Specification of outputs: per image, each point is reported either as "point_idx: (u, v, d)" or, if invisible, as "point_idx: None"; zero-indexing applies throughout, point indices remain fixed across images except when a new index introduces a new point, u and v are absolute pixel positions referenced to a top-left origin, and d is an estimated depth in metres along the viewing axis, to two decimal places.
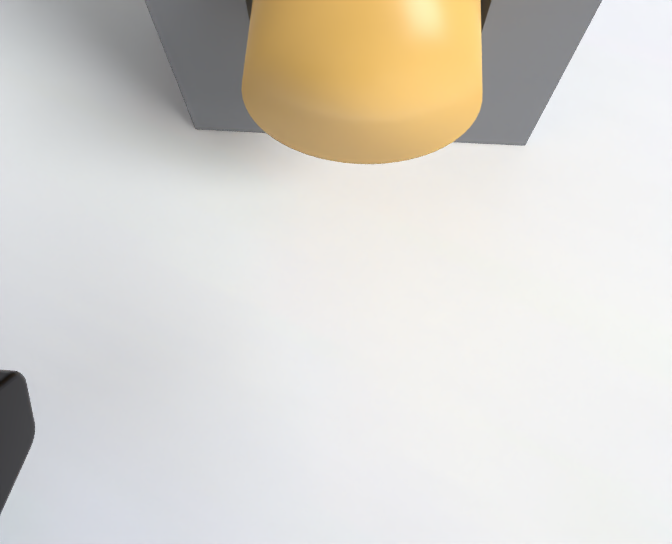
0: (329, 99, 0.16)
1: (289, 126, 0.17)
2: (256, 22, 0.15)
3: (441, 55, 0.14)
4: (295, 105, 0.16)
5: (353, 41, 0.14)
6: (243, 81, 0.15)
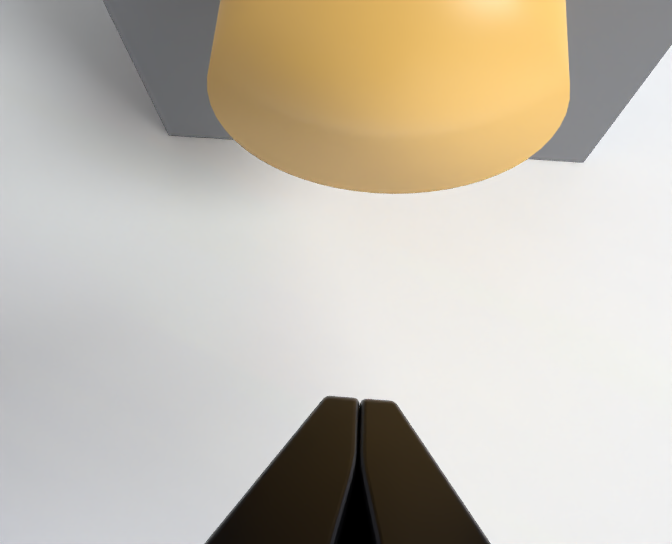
0: (337, 107, 0.11)
1: (279, 143, 0.12)
2: None
3: (515, 42, 0.09)
4: (287, 114, 0.11)
5: (377, 17, 0.09)
6: (209, 78, 0.10)
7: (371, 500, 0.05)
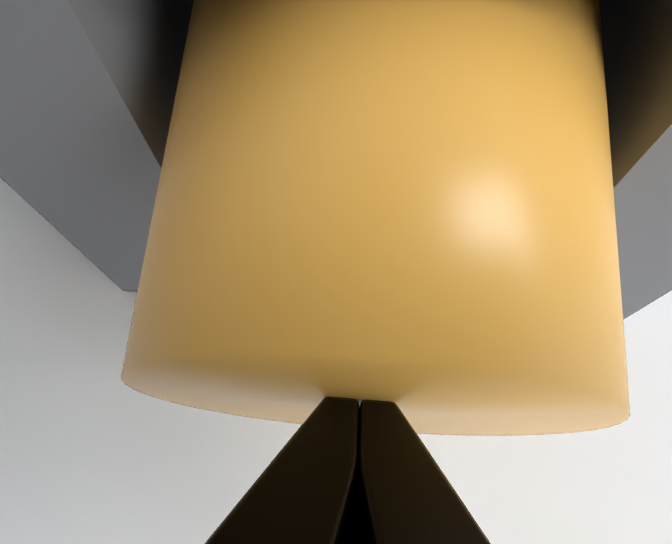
0: (304, 401, 0.08)
1: (233, 407, 0.09)
2: (146, 273, 0.07)
3: (558, 396, 0.06)
4: (238, 399, 0.08)
5: (352, 372, 0.06)
6: (124, 380, 0.07)
7: (371, 500, 0.05)
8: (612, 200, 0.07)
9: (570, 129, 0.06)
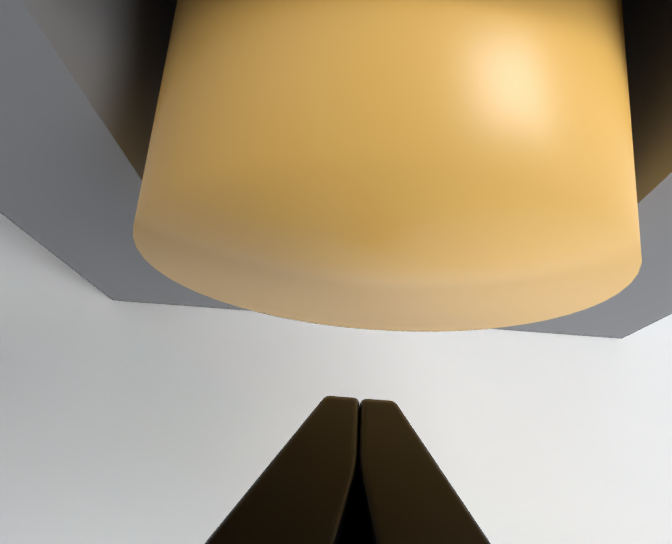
0: (315, 267, 0.08)
1: (243, 290, 0.09)
2: (157, 122, 0.07)
3: (571, 224, 0.06)
4: (248, 270, 0.08)
5: (365, 195, 0.06)
6: (136, 238, 0.07)
7: (371, 500, 0.05)
8: (625, 55, 0.07)
9: None
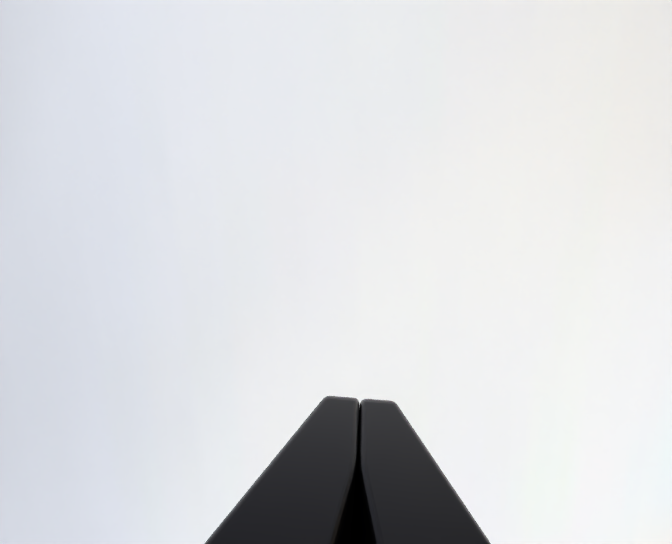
0: None
1: None
2: None
3: None
4: None
5: None
6: None
7: (371, 500, 0.05)
8: None
9: None
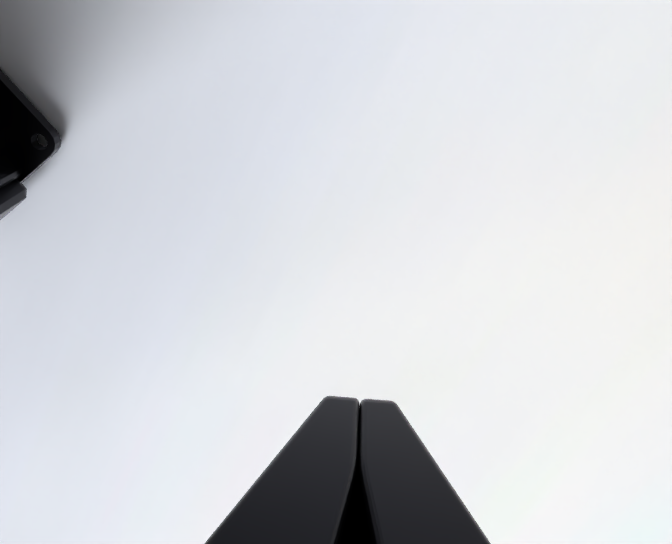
0: None
1: None
2: None
3: None
4: None
5: None
6: None
7: (371, 500, 0.05)
8: None
9: None
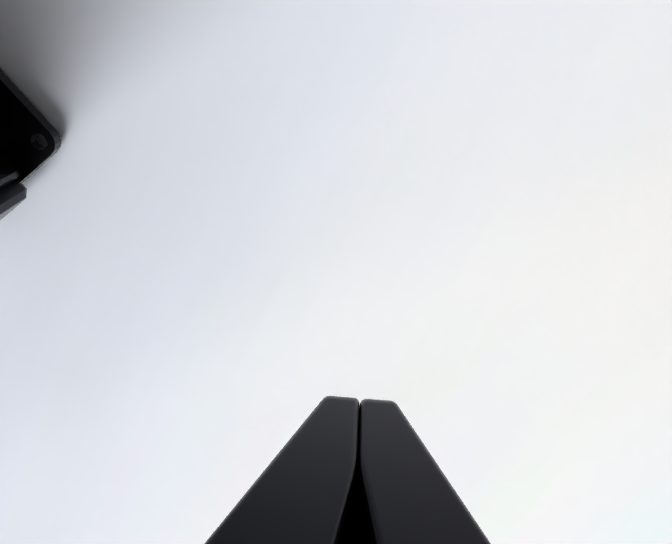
0: None
1: None
2: None
3: None
4: None
5: None
6: None
7: (371, 500, 0.05)
8: None
9: None
